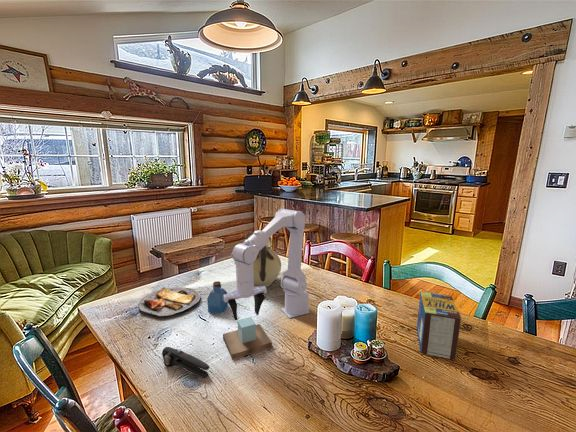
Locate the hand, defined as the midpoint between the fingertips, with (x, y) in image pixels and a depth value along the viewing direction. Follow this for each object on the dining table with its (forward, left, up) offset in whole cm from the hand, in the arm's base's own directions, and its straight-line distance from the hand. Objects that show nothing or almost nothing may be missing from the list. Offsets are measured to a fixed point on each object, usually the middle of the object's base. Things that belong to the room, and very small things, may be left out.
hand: (246, 316), depth 98 cm
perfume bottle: (+4, -27, -11) cm, 29 cm away
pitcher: (-21, -42, -11) cm, 48 cm away
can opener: (+21, +3, -11) cm, 24 cm away
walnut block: (0, 0, -11) cm, 11 cm away
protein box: (-59, +29, -11) cm, 67 cm away
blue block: (0, 0, -8) cm, 9 cm away
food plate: (+22, -41, -11) cm, 48 cm away
